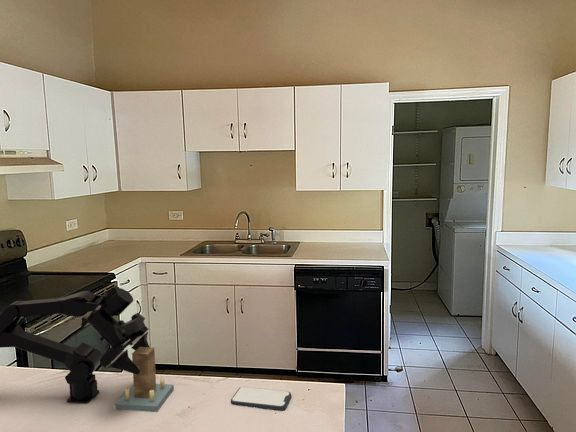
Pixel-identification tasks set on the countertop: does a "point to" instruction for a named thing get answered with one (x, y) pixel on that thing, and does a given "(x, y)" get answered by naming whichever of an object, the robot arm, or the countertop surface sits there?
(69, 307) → the robot arm
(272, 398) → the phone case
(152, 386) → the walnut block
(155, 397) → the pegged blue base plate
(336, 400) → the countertop surface
